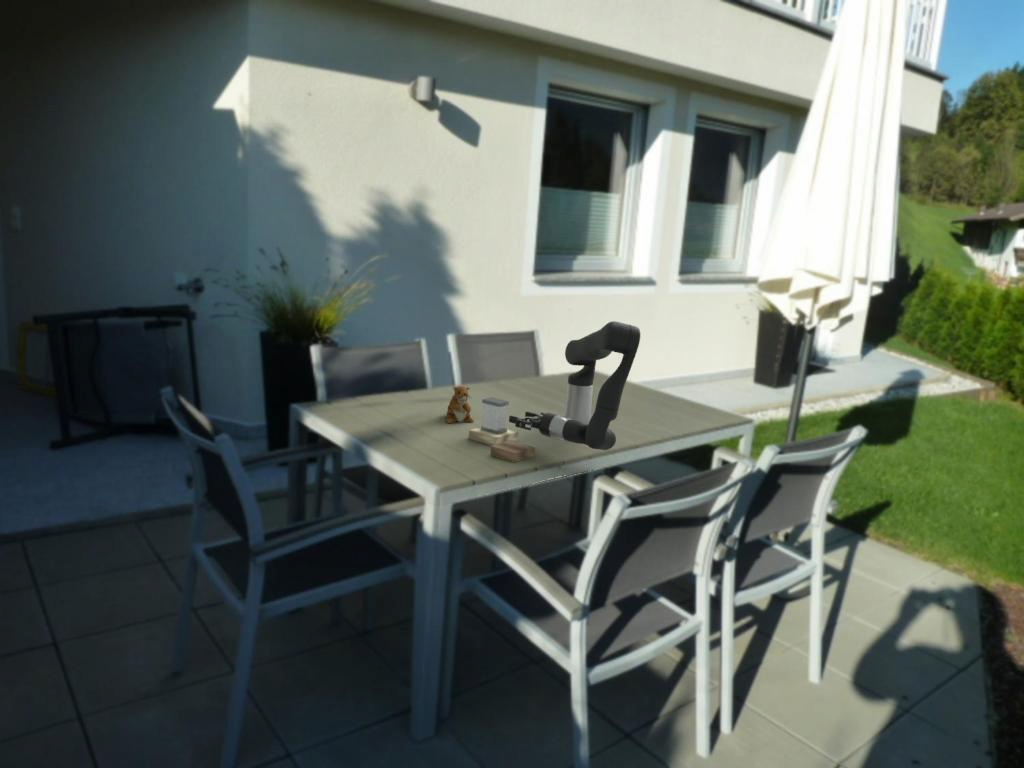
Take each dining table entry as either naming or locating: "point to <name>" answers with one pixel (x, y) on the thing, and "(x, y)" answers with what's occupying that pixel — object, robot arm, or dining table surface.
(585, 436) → the robot arm
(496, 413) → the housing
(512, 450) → the walnut stand
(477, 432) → the cream slab
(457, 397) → the stuffed squirrel
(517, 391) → the dining table surface
